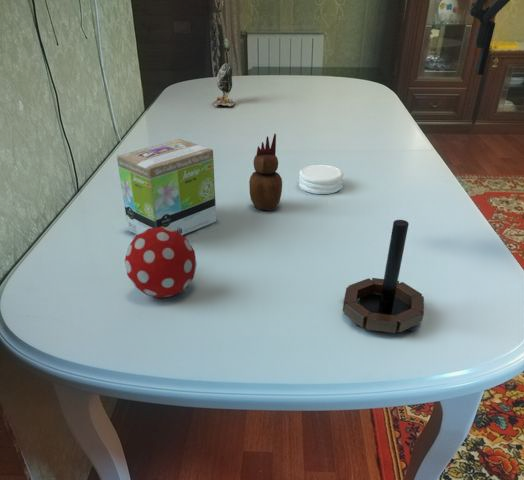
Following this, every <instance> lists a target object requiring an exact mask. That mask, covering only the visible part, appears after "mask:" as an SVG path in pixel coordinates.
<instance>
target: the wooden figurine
mask: <svg viewBox="0 0 524 480" xmlns="http://www.w3.org/2000/svg"><path fill="white" fill-rule="evenodd" d="M260 146H261V147H260ZM260 146H257V149H256V154H255V156H254V158H253V168H254V171H253V172H252V174H251V175H250V177H249V182H248V183H249V184H248V185H249V188H248V189H249V197H250V201H251V202H252V205H253V207H255V208H256V209H258V210H261V211H271V210H272V211H273V210H274V209H276V208H277V207H278V205H279V203H280V202H281V201H280V200H281V197H282V193H283V179H282V176H281V175H280V173H279V172H277V170H278V168H279V160H278V159H279V158H278V157H277V155H276V149H277V134H276V133H274V134H273V138H272V140H271V145H270V138H269V136H266V140H265V145H264V142H263V141H262V142H261V145H260Z"/></svg>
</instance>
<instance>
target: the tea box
mask: <svg viewBox="0 0 524 480" xmlns="http://www.w3.org/2000/svg"><path fill="white" fill-rule="evenodd" d="M116 159H117V166H118V173H119V180H120V187H121V193H122V200H123V205H124V211H125V219H126V225H127V230H128V231H129V232H131V233H133V234H134V235H135V236H137V235H138V234H140V233H142V232H143V231H145V230H147V229H150V228H157V227H165V228H169V229H172V230H176V231H177V232H179V233H180V234H181V235H183V236H184V235H186V234H188V233H191V232H194V231H196V230H199V229H201V228H204V227H207V226H209V225H212V224H215V223H216V222H217V207H216V206H217V205H216V187H215V164H214V163H215V162H214V161H215V160H214V149H212V148H209V147H206V146H203V145H200V144H197V143H194V142H191V141H188V140H185V139H183V138H179V139H174V140H171V141H166V142H163V143H159V144H156V145H153V146H149V147H145V148H141V149H138V150H134V151H130V152H126V153H123V154H120V155H117V156H116Z"/></svg>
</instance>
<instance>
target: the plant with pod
mask: <svg viewBox="0 0 524 480" xmlns="http://www.w3.org/2000/svg"><path fill="white" fill-rule="evenodd" d="M230 49H231V44H230V42H229V40H228V39H227V37H226V38H224V39H223V51H224V52H225V61H227V58H228V52H229V51H230ZM216 85H217V88H218V89H219V90H220V91H221V92H222V96H217V98H216V100H214V101H213V102H212V104H213V105H214V107H217V106H220V105H221V106H224V107H226V106H227V107H232V106H234V105H235V104H236V102H235V101H233V100H230V97H228V96H229V94H230V93H231V91H232V88H233V68H232V65H231V63H230V64H229V63H227V62H225V63H224V64H222V66H221V67H220V69H219V71H218V72H217V75H216Z"/></svg>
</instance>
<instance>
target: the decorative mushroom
mask: <svg viewBox="0 0 524 480" xmlns="http://www.w3.org/2000/svg"><path fill="white" fill-rule="evenodd" d="M124 266H125V270H126V275H127V277H128V279H129V280H130V282H131V283H132V285H133V286H134V288H136V289H138V290H139V291H140V292H141V293H143V294H144V295H146V296H150V297H154V298H158V299H162V298H169V297H174V296H176V295H178V294H179V293H181V292H182V291H184V290H185V289H187V287H188V286H189V285H190V283H191V282H192V280H193V279H194V277H195V272H196V269H197V257H196V252H195V249H194V247H193V246H192V245H191V243H190V241H189V240H188V238H186V236H184V235H181V234H180V233H179V232H177V231H176V230H172V229H169V228H165V227H157V228H150V229H147V230H145V231H143V232H142V233H140V234H138V235H135V236H134V237H133V239H132V241H131V242H130V244H129V245H128V246H127V248H126V254H125V259H124Z"/></svg>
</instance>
